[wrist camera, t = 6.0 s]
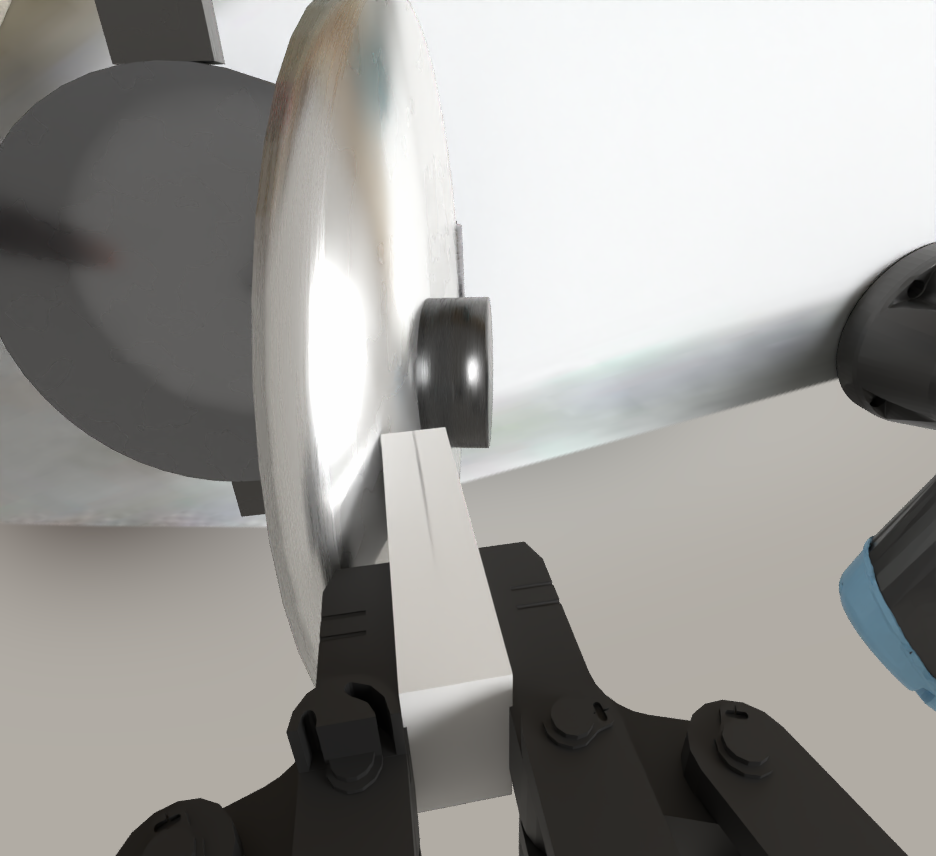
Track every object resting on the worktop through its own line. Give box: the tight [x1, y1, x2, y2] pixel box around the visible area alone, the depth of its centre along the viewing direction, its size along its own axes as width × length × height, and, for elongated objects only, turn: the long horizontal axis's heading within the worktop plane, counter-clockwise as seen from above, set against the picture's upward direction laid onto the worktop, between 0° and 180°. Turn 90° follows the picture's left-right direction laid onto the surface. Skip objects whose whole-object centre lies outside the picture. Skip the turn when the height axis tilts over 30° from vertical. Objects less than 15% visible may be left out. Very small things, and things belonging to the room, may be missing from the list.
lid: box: [251, 0, 493, 687], centre depth 20 cm, size 22×21×3 cm
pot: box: [0, 0, 457, 517], centre depth 33 cm, size 22×26×12 cm
